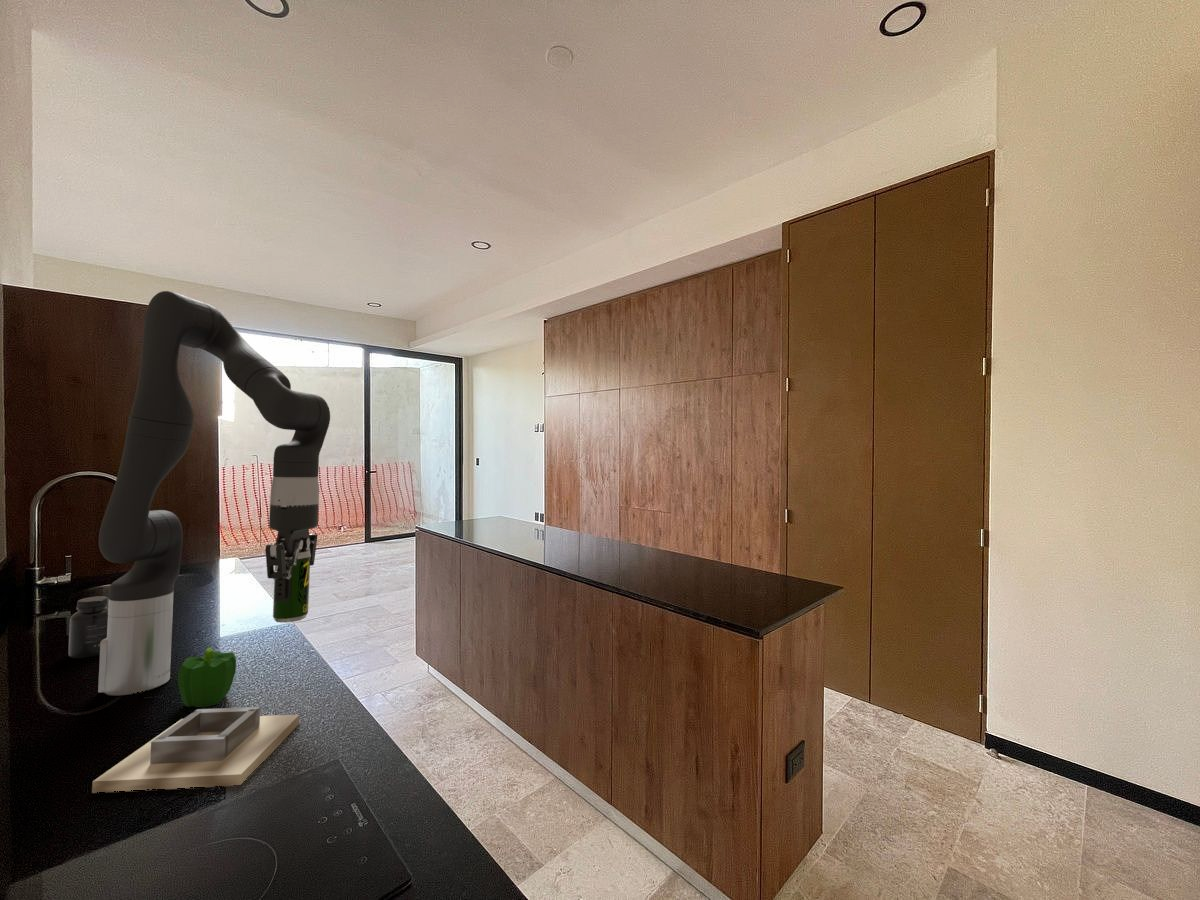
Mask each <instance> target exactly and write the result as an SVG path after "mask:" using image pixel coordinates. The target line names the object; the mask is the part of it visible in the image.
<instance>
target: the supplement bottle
mask: <svg viewBox="0 0 1200 900" xmlns="http://www.w3.org/2000/svg"><path fill="white" fill-rule="evenodd" d="M108 603H109V596H104V595H100V596H99V595H98V596H97V595H96V596H90V597H84V598H81V599H78V600H77V603H76V611H77V612H74V613H73V614H72V615H71V616H70V618H69V631H68V632H69V633H68V635H69V636H68V656H69V657H70V658H72V659H85V658H86V659H87V658H91V657H97V656H100V643H101V641H102V640H103V639H106V638H107V626H108Z"/></svg>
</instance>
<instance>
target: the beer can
mask: <svg viewBox="0 0 1200 900" xmlns="http://www.w3.org/2000/svg"><path fill="white" fill-rule="evenodd" d="M298 554H299V555H298V558H297V565H296V566H294V567H293V571H292V576H291V598H290V600H288V601H286V602H277V601H276V600H275V589H276V580H274V579H273V580H274V581H273V606H272V618H273V620H274V622H277V623H281V624H282V623H283V624H284V623H285V624H286V623H293V622H298V621H302V620H304V619H306V618H307V616H308V613H309V601H310V600H309V599H310V595H309V594H310V574H311V572H310V571H311V570H310V569H311V566H310V554H309V550H307V551H306V550H303V551H302V552H300V553H298ZM291 559H292V557H285V561H290V560H291ZM286 570H287V566H286Z"/></svg>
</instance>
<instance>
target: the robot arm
mask: <svg viewBox="0 0 1200 900" xmlns="http://www.w3.org/2000/svg"><path fill="white" fill-rule="evenodd" d="M144 315H145V316H144V320H143V330H142V343H141V353H140V355H141V356H140V364H139V371H138V378H137V384H136V388H135V393H134V398H133V403H132V406H131V411H130V414H129V415H130V416H129V419H128V424H127V428H126V433H125V441H124V446H123V451H122V455H121V458H120V463H119V468H118V471H117V476H116V480H115V483H114V486H113V490H112V492H111V496H110V498H109V501H108V504H107V506H106V509H105V513H104V515H103V518H102V521H101V524H100V528H99V532H98V533H99V534H98V548H99V551H100V553H101V555H102V557H103V558H104V559H105V560H107V561H109V562H110V563H113V564H126V563H133V562H134V563H133V565H132V567H131V569H130V570H129V571H128V572H126V573H125V574H123V575H122V576H121V577H119V578H117V579H116V580H114V581H112V583H110V585H109V588H108V606H107V608H108V626H107V638H106V639H103V640H102V641H101V643H100V655H99V668H98V669H99V670H98V686H97V688H98V690H97V692H98V693H103V694H106V695H107V696H127V695H133V693H134V694H138V693H137V692H139V693H143V692H145V691H146V690H147V691H150V690H153V689H155V688H158V687H160V686H162V685H165V684H166V683H168V682H169V680H170V679H171V662H172V661H171V658H172V639H173V638H172V636H173V615H174V614H173V613H174V611H173V610H174V607H173V606H174V590H175V589H174V588H175V584H176V583H175V582H176V580H177V578H178V577H179V575H180V571H181V570H180V569H181V561H182V560H181V559H182V551H183V543H184V542H183V541H184V536H183V535H184V533H183V527H182V523H181V521H180V520H181V519H179V517H178V516H177V515H176V514H175V513H174V512H172V511H169V510H165V509H158V510H157V509H156V510H155V509H154V510H151V505H152V502H153V498H154V496H155V493H156V492H157V490H158V488H159V486H160V485H161V483H162V482H163V480H164V479H165V478H166V477H167V476H168V475H169V473H170V472H171V471H172V470H173V469H174V468H175V467H176V465H177V464H178V463H179V462H180V460H181V459H182V458H183V456H185V454H186V453H187V450H188V449H189V446H190V442H191V438H192V432H193V429H194V427H193V426H194V423H195V422H194V420H195V411H194V409H193V405H192V402H191V400H190V398H189V395H188V394H187V391H186V389H185V387H184V385H183V382H182V380H181V377H180V374H179V368H178V367H179V366H178V364H179V353H180V352H179V351H180V346H185V347H188V348H192V349H200V350H203V351H206V352H208V353H209V354H211V355H213V356H214V357H216V358H218V359H219V360H220V361H222V365H223V370H224V373H225V375H226V376H227V378H228V380H230V381H231V383H232V384H233V385H234V386H235V387H237V388H238V389H239V390H240V391H242V392H243V394H245V395H246V396H247V397H249V398H250V399H251V400H252V401H253V403H254V405H255V406H256V408H257V409H258V412H259V413H260V415H261V416H262V417H263V419H264V420H265V421H266V422H267V423H269V424H271V425H272V426H274V427H276V428H278V429H281V430H287V431H294V434H293V437H292V439H291V440H290V441H289V442H288V443H282V444H279V445H277V446H276V448H274V452H273V453H274V454H273V465H272V466H273V468H272V481H271V488H270V493H269V494H270V495H269V497H270V498H269V500H270V501H269V518H268V519H269V520H268V521H269V524H268V525H269V529H270V530H273V531H276V532H277V536H276V540H275V543H273V544H266V545H265V560H266V575H267V576H266V577H267V578H268V579H273V580H276V589H275V600H276V601H277V602H286V601H288V600H290V598H291V576H292V571H293V567H294V566H296V565H297V558H298V555H299V554H298V553H300V552H302V551H303V550H306V551H307V550H309V554H310V567H312V566H314V564H315V558H316V553H317V552H316V551H317V543H318V534H316V533H310V530H313V529H315V528H317V527H318V526H319V525H318V524H319V506H320V484H319V483H320V482H319V470H320V469H319V463H320V462H319V461H320V459H319V458H320V453H321V450H322V448H323V446H324V442H325V439H326V437H327V433H328V429H329V426H330V422H331V410H330V406H329V404H328V403H327V402H326V399H324V397H322V396H320V395H317V394H313V393H306V392H302V391H299V390H298V391H296V390H294V389H293V390H292V385H291V381H290V380H289V378H288V377H287V376H286V375H285V374H284V373H283V371H281V370H280V369H278V368H277V367H276V366H275V365H274V364H272V363H271V362H270V361H268V360H267V359H266V358H265V357H263V356H262V355H260V354H259V353H258V351H256V350H255V349H254V348H253V347H252V346H251V345H250V344H249V343H248V342H247V341H246V340H245V339H244V338H243V337H242V335H241V334H240V333H239V332H238V331H237V329H235V327H234V326H233V325H232V324H231V322H230V321H229V320H228V319H227V318H226V317H225V315H223V313H222V312H221V311H219V310H218V309H217V308H216V307H215V306H213V305H211V304H209V303H206V302H203V301H201V300H200V301H199V300H198V299H196V298H195V299H194V298H192V297H189V296H186V295H183V294H180V293H178V292H175V291H174V292H173V291H171V290H170V291H169V290H163V291H160V292H157V293H156V294H155V295H154V296H153V297H152V298H151V300H150V301H149V303H148V305H147V308H146V312H145V314H144ZM285 557H292V559H291V560H290V561H285ZM286 566H287V570H286ZM142 691H143V692H142ZM147 691H146V692H147Z"/></svg>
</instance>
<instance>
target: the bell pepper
mask: <svg viewBox="0 0 1200 900" xmlns="http://www.w3.org/2000/svg"><path fill="white" fill-rule="evenodd" d="M236 668H237V657H236V656H235V654H234V652H233V651H232V652H230V651H229V652H221V651H217V650H215V651H214V649H213V648H212V647H207V648H206V649H205V651H204V656H203V657H202V656H189V657H187V658H186V659H184V661H183V663H182V664H181V665H180V667H179V669H178V671H177V684H178V690H179V694H180V698H181V702H182V703H183V705H184V706H185V707H195V708H201V709H204V708H207V707H213V706H214V705H217V704H220V702H222V701H223V700H224V699H225V697H227V695H228V693H229V691H230V689H231V687H232V685H233V681H234V678H235V674H236Z"/></svg>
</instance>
